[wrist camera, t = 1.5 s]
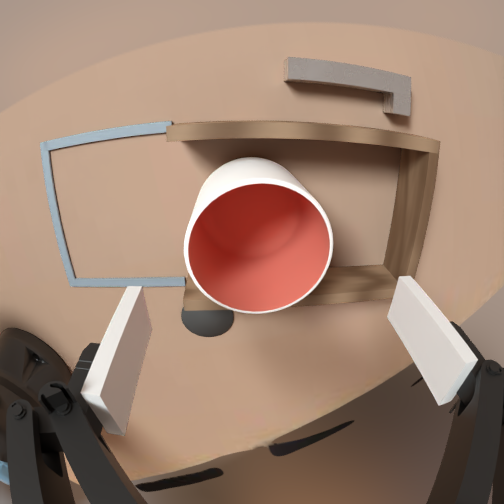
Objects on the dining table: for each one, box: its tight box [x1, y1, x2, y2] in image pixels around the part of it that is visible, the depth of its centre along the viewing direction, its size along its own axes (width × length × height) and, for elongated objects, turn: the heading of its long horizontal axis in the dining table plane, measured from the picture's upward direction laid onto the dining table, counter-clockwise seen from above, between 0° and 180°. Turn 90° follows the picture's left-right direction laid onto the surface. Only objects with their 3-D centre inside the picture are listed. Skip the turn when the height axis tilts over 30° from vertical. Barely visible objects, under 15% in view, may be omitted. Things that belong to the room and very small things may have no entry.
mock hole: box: [181, 307, 233, 337], centre depth 34 cm, size 6×6×1 cm
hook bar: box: [284, 57, 411, 116], centre depth 23 cm, size 12×4×2 cm, turn 90°
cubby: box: [166, 121, 440, 311], centre depth 27 cm, size 23×16×5 cm
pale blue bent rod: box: [40, 121, 186, 287], centre depth 27 cm, size 14×17×1 cm
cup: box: [184, 157, 333, 314], centre depth 24 cm, size 10×10×10 cm
